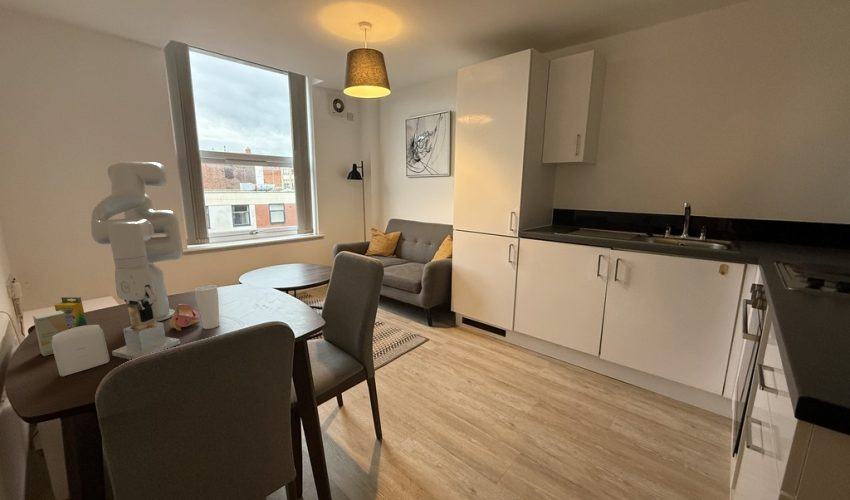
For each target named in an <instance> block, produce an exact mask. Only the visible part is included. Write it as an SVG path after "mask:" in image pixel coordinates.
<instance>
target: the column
mask: <svg viewBox="0 0 850 500" xmlns="http://www.w3.org/2000/svg"><path fill="white" fill-rule="evenodd" d="M145 302H146V300H145V301H143V303H145ZM127 306H128V308H127V310H128V314H129V315H128V316H129V319H130V320H129V321H130V326H132V329H136V330H142V329H145V328H147V326H148V325H155V323H154V317H153V319H151V320H148V321H146V322H141V318H140V312H139V310H141V309H140V306H139V302H133V303H129V304H127V305H126V307H127Z"/></svg>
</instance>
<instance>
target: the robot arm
mask: <svg viewBox="0 0 850 500" xmlns="http://www.w3.org/2000/svg"><path fill="white" fill-rule="evenodd" d="M107 176H108V178H109V181H110V183H111V194H109V195H107V197H105V198H103V199H102V200H101V201H100V202H99V203H97V204H96V205H95V207H94V208H93V210H92V212H91V221H90V231H91V237H92V239H93V240H94V241H95V243H97V244H100V245H110V246H111V252H112V258H113V263H114V280H115V281H114V282H115V289H116V295H117V298H118V299H120V300H124V302H125V303H126V308H127V309H128V306H127V304H129V303H133V302H139V306H140V309H141V310H139V312H140V318H141V322H146V321H148V320H151V319H153V317H154V321H155V322H161V321H165V320H168V319H170V318H172V316H173V314H174V312H176V311H175V310H174V309H172V308H170V304H169V298H168V292H167V285H166V281H165V280H166V279H165V273H164V271H163V270H162V269H161V268H160V267H159V266H157V265H156V264H155V263H158V262H169V261H177V260H179V259H181V258H182V257H183V253H184V252H183V242H182V235H181V230H180V224H179V220H178V216H177V214H176V213H175V212H174V211H173V210H170V209H157V210H155V209H153V202H152V198H151V197H150V196H149V195H148V194H147V193H146V188H145V187H164V186H166V185H167V184H168V182H169V173H168V171H167V168H166V166H165V165H163V164H162V163H159V162H154V161H121V162H117V163H113V164H110V165H109V166H108V167H107ZM121 213H123V215H124V218H114V219H111V218H112V217H114V216H116V215H118V214H121ZM155 235H156V236H155ZM158 235H165V236H158ZM153 236H154V237H153ZM145 300H146V302H145V303H143V301H145Z"/></svg>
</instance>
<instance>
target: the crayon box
mask: <svg viewBox="0 0 850 500" xmlns="http://www.w3.org/2000/svg"><path fill="white" fill-rule="evenodd" d="M71 299H72V300H71ZM54 309H55V312H56V311H61V310H62V311H63V312H64V313H65V318H66V323H67V328H68V329H71V328H75V327H79V326H86V325H88V322H87V320H86V318H87V317H86V315H85V310H84V305H83V302H82V297H80V296H77V297H73V296H72V297H66V296H65V297H61V302H59V303H56V304H54Z"/></svg>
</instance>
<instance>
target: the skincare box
mask: <svg viewBox="0 0 850 500" xmlns="http://www.w3.org/2000/svg"><path fill="white" fill-rule="evenodd" d="M32 319H33V324H34V328H35V333H36V336H37V337H36V338H37V343H38V346H39V347H38V348H39V351H40V354H41V355H42V356H43V357H46V356H49V355H52V354H53V355H54V352H53V348H52V339H53V337H52V336H54V335H56V334H58V333H60V332H62V331H65V330H68V328H67V323H66V318H65V313H64V312H63V311H62V310H61V311H56V310H55V311H51V312H47V313H42V314H37V315H34V316H33V315H32Z"/></svg>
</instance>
